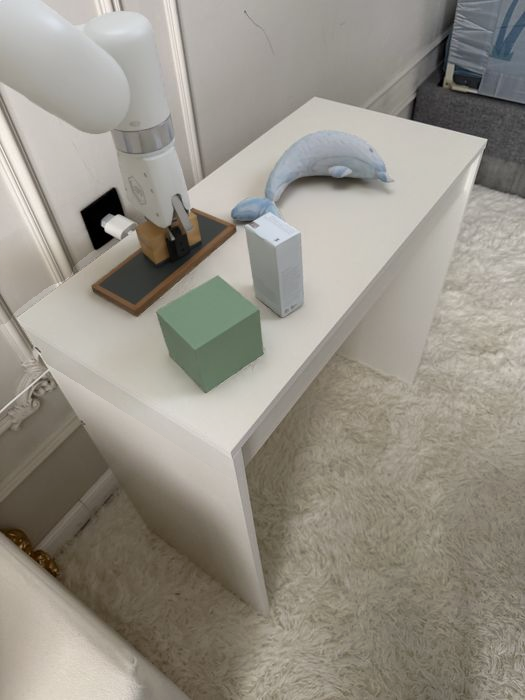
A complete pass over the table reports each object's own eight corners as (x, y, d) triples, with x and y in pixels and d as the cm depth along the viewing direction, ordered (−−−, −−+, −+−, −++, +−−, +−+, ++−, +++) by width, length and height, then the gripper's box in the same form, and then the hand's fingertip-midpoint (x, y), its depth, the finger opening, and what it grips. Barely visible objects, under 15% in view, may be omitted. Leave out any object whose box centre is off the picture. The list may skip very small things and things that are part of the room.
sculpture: (315, 280, 80) (402, 185, 89) (317, 248, 73) (411, 148, 82) (227, 229, 86) (316, 144, 95) (221, 194, 79) (318, 107, 88)
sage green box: (205, 393, 62) (194, 350, 56) (169, 355, 66) (155, 311, 60) (263, 353, 66) (259, 309, 60) (225, 319, 70) (217, 274, 64)
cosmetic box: (305, 304, 71) (305, 230, 62) (280, 320, 69) (276, 247, 60) (276, 281, 74) (271, 208, 65) (251, 296, 72) (243, 224, 63)
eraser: (157, 267, 76) (149, 239, 72) (142, 254, 78) (134, 227, 74) (202, 243, 79) (196, 215, 75) (187, 231, 81) (181, 203, 77)
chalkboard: (137, 316, 71) (134, 310, 70) (93, 292, 75) (90, 286, 74) (236, 231, 82) (235, 225, 81) (193, 213, 86) (192, 207, 85)
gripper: (84, 119, 67) (122, 235, 81) (152, 169, 58) (182, 289, 72) (134, 99, 70) (163, 214, 84) (206, 144, 61) (225, 264, 75)
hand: (171, 248), depth 78 cm, fingers closed on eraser, 4 cm apart
